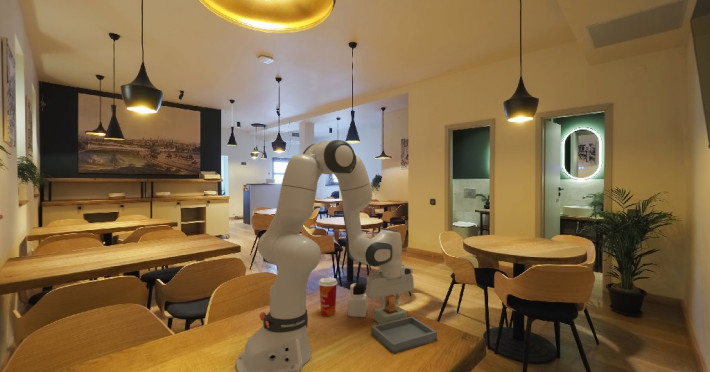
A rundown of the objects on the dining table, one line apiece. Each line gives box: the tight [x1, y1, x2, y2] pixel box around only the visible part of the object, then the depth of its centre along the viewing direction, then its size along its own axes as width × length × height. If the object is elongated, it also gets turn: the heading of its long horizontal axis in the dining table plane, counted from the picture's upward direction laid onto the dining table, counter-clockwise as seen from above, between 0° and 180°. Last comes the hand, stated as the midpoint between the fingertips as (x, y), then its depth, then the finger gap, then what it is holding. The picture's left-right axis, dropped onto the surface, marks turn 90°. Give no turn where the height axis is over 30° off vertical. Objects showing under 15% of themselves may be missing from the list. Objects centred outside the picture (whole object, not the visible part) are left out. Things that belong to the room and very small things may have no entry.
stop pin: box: [384, 294, 397, 314], centre depth 125 cm, size 3×3×10 cm
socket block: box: [373, 305, 408, 324], centre depth 125 cm, size 10×8×4 cm
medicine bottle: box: [347, 282, 368, 318], centre depth 132 cm, size 7×7×12 cm
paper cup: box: [318, 276, 338, 318], centre depth 132 cm, size 8×8×14 cm
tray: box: [370, 315, 438, 355], centre depth 113 cm, size 18×14×3 cm
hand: (390, 305), depth 125 cm, fingers open, 4 cm apart
